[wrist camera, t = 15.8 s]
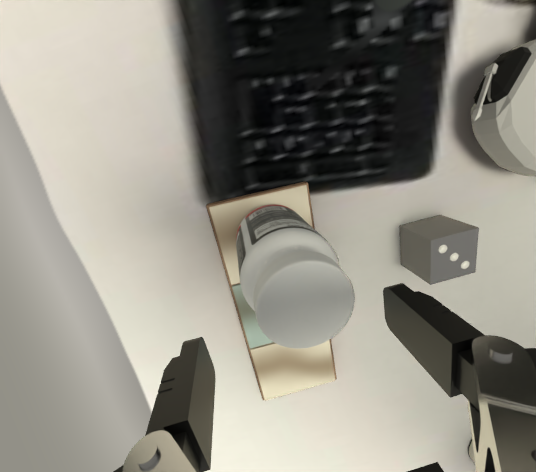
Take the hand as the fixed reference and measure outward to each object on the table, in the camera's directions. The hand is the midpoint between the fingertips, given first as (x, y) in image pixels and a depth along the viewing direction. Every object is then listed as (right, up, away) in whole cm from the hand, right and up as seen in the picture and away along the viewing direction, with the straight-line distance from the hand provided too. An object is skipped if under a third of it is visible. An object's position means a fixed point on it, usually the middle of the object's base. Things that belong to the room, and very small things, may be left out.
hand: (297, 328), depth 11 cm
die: (+13, +4, +13) cm, 19 cm away
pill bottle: (-1, +4, +10) cm, 11 cm away
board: (0, -2, +13) cm, 13 cm away
